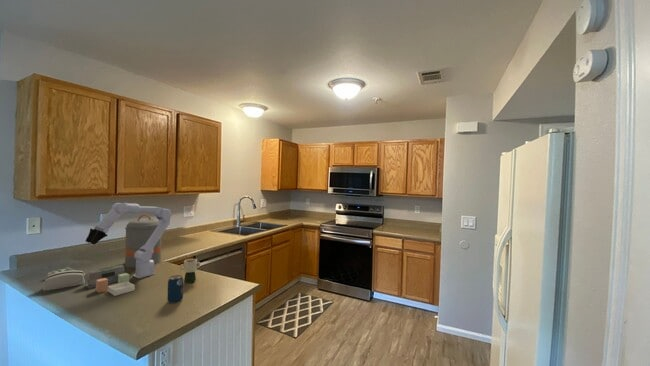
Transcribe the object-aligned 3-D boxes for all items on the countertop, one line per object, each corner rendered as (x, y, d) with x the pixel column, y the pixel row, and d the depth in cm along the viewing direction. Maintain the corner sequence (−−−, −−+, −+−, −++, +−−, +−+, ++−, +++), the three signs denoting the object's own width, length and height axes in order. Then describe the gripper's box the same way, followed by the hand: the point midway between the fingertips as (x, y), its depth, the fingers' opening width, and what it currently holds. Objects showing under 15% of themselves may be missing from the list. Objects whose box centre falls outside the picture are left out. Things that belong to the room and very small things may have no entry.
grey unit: (122, 276, 166) (123, 263, 166) (127, 278, 163) (127, 264, 163) (85, 285, 151) (85, 270, 151) (88, 288, 148) (89, 273, 148)
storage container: (123, 269, 178) (125, 217, 178) (124, 261, 196) (125, 213, 196) (162, 264, 192) (164, 215, 191) (160, 256, 210) (161, 212, 209)
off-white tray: (127, 286, 152) (127, 281, 152) (134, 290, 147) (134, 285, 147) (108, 291, 144) (108, 286, 144) (114, 295, 139) (114, 290, 139)
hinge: (85, 281, 157) (85, 266, 155) (85, 286, 154) (85, 271, 151) (44, 287, 147) (43, 272, 144) (43, 293, 143) (42, 278, 140)
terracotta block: (104, 288, 148) (105, 277, 148) (107, 290, 146) (108, 279, 146) (95, 291, 145) (96, 280, 145) (98, 292, 142) (98, 281, 142)
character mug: (199, 278, 167) (199, 257, 167) (200, 282, 161) (201, 260, 161) (179, 281, 161) (179, 260, 161) (180, 285, 155) (180, 263, 155)
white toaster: (42, 270, 157) (72, 263, 171) (40, 280, 158) (70, 271, 172) (58, 280, 153) (87, 272, 168) (56, 290, 154) (85, 280, 168)
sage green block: (126, 283, 156) (126, 272, 156) (129, 284, 154) (129, 274, 154) (117, 285, 153) (118, 274, 153) (120, 286, 151) (121, 276, 151)
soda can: (185, 300, 136) (185, 277, 136) (170, 305, 131) (170, 280, 131) (179, 296, 141) (180, 273, 141) (165, 300, 135) (165, 277, 135)
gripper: (96, 216, 154) (77, 237, 147) (106, 218, 146) (86, 241, 139) (108, 222, 159) (90, 243, 152) (118, 225, 151) (100, 247, 144)
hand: (89, 242), depth 146 cm, fingers open, 7 cm apart
